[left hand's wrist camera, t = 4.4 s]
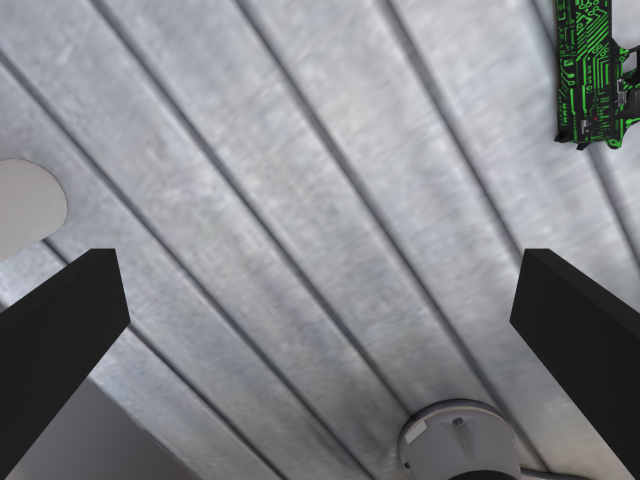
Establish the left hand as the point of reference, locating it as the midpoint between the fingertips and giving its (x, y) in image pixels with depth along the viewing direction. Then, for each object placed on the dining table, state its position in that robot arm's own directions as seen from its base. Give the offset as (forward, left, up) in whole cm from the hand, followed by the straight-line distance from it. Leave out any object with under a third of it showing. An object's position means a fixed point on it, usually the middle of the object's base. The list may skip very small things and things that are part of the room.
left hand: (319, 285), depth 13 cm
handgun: (-8, +28, -28) cm, 40 cm away
